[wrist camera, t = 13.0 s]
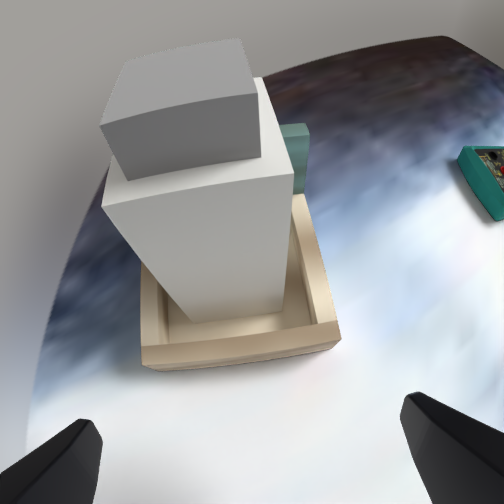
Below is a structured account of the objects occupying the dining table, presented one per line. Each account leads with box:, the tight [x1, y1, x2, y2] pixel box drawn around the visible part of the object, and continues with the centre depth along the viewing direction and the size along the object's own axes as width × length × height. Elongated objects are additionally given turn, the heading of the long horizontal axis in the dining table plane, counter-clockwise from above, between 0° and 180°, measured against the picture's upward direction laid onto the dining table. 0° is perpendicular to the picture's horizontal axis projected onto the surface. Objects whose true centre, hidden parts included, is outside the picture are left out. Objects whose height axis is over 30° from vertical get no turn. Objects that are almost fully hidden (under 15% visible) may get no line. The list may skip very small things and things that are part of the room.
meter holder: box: [140, 123, 341, 371], centre depth 16 cm, size 10×10×7 cm
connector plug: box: [99, 38, 294, 324], centre depth 12 cm, size 5×5×13 cm
